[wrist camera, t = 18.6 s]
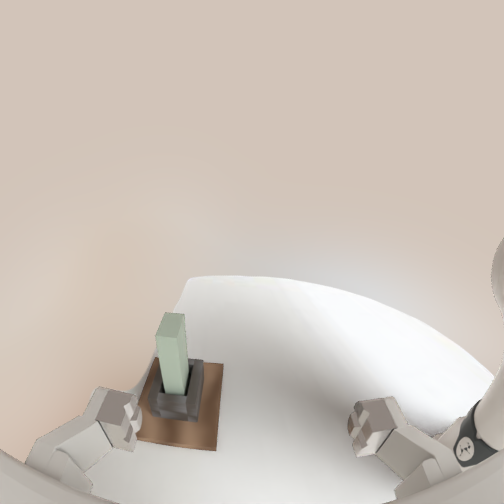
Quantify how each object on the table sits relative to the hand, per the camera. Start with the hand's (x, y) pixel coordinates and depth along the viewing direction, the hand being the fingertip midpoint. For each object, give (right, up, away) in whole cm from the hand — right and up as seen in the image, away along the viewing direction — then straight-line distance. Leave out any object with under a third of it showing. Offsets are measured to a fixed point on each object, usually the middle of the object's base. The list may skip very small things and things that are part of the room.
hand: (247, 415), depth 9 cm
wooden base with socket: (-12, -20, +35) cm, 42 cm away
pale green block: (-12, -19, +35) cm, 42 cm away
